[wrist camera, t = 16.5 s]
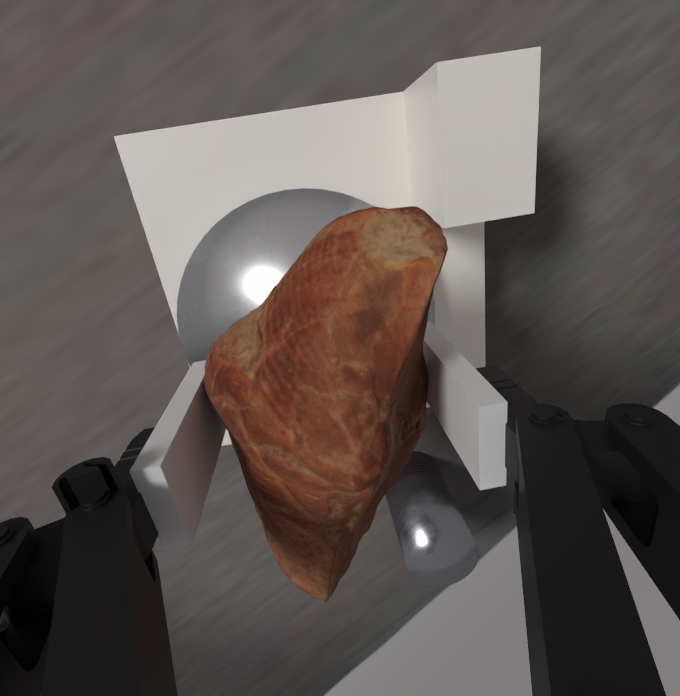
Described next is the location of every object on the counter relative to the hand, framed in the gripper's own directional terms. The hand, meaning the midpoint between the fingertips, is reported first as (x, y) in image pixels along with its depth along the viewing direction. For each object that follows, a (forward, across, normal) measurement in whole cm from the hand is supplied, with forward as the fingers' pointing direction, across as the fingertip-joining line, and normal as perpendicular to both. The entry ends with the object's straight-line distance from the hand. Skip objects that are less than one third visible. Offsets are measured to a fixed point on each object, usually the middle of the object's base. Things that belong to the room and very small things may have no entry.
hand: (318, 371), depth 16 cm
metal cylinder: (+10, +5, -16) cm, 19 cm away
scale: (+10, +1, +2) cm, 11 cm away
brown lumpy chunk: (0, 0, 0) cm, 1 cm away
